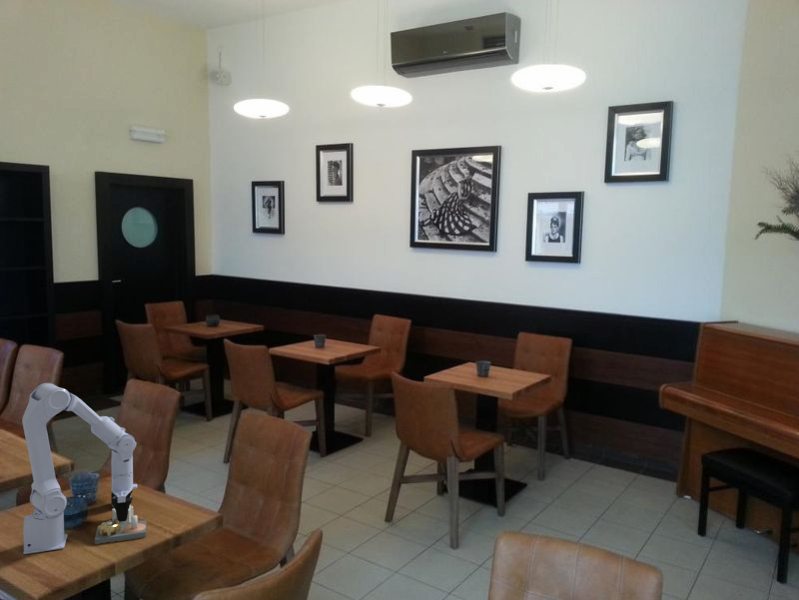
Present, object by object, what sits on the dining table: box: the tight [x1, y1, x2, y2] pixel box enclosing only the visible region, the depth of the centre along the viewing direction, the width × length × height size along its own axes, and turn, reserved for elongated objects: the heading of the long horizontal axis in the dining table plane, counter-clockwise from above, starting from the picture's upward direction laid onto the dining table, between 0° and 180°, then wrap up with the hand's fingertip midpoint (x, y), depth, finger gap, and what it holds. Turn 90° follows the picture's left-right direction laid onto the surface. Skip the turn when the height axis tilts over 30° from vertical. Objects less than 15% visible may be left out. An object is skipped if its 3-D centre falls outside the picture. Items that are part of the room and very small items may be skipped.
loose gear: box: [111, 504, 134, 524], centre depth 180 cm, size 6×6×4 cm
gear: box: [97, 519, 121, 536], centre depth 170 cm, size 6×6×3 cm
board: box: [94, 514, 147, 545], centre depth 171 cm, size 13×8×5 cm, turn 112°
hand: (122, 516), depth 180 cm, fingers closed on loose gear, 6 cm apart
